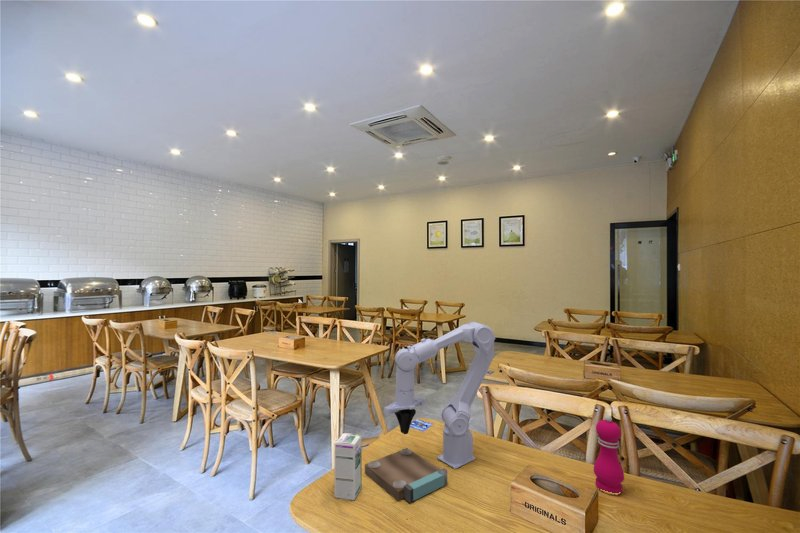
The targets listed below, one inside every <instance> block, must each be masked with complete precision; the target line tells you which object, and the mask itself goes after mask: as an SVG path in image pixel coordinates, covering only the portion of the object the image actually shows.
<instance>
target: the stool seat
mask: <svg viewBox="0 0 800 533" xmlns="http://www.w3.org/2000/svg"><path fill="white" fill-rule="evenodd" d="M439 469H440V468H439V467H438V466H436V465H435V464H433V463H431V462H430V461H428V460H427V459H425V458H423V457H422V456H421V455H418V454H417V453H415V452H414V451H413V450H412V449H409V448H408V447H406V448H402V449H401V450H398V451H396V452H393V453H390V454H389V455H385V456H383V457H381V458H378V459H375V460H372V461H369V462H368V463H365V464H364V474H365V475H366V476H368V478H370V479H371V480H372V481H373V482H374V483H376V484H377V485H378V486H379V487H380V488H381V489H383V490H384V491H385V492H386V493H388V495H390V496H391V497H392V498H394V499H395V500H396V501H397V502H400V501H402V500H405V499H404V485H406V484H410V483H412V482H414V481H417V480H419V479H421V478H423V477H425V476H428V475H430V474H432V473H434V472H436V471H438V470H439Z"/></svg>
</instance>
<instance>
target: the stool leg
mask: <svg viewBox="0 0 800 533" xmlns="http://www.w3.org/2000/svg"><path fill="white" fill-rule="evenodd" d="M446 485H448V470H447V469H445V468H439V470H438V471H436V472H434V473H432V474H430V475H428V476H425V477H423V478H421V479H419V480H417V481H414V482H412V483H410V484H406V485H404V499H403V500H406V501H407V502H408V503H409V504H410V503H413V502H414V501H416V500H419V499H420V498H423V497H424V496H426V495H429V494H430V493H432V492H435V491H436V490H438V489H440V488H442V487H444V486H446Z"/></svg>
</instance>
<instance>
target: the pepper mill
mask: <svg viewBox="0 0 800 533" xmlns="http://www.w3.org/2000/svg"><path fill="white" fill-rule="evenodd" d="M620 427H621V426H619V425H618V424H617V423H616V422H614V421H613V418H612V416H611V415H608V414H607V415H605V416H604V419H602V420H599V421H597V423H596V426H595V431H596V434H597V435H598V437H597V439H598V440H597V442H598V444H599V454H598V456H597V458H596V459H595V462H594V463H593V472H594V475H595V486H597V487H598V488H599V489H602V490H605V491H608V492H612V493H619V492H621V491H622V492H623V485H622V484H623V482H624V480H625V473H624V470H623V466H622V464H621V463H620V461H619V456H618V449H619V447H620V444H619V443H620V439H621V436H622V430H621V428H620ZM597 487H596V488H597ZM598 488H597V489H598ZM599 489H598V490H599Z"/></svg>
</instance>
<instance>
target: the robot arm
mask: <svg viewBox="0 0 800 533" xmlns="http://www.w3.org/2000/svg"><path fill="white" fill-rule="evenodd" d="M495 340H496V335H495V333H494V331H493V329H492V328H491V327H490V326H488V325H486V324H482V323H479V322H478V321H470V322H468V323H464V324H462V325H460V326H459V327H457V328H455V329H453V330H451V331H449V332H447V333H445V334H442V335H441V336H439V337H438V338H436V339H431V338H422V339H420V342H418V343H415V344H412V345H407V346H406V347H407V348H400V349H399V350H398V351H397V352H396V353H395V356H394V362H395V363H396V369H395V372H396V373H395V401H394V402H393V403H391V404H389V405H387V406H384V407H383V408H384V410H383V414H384V415H385V416H387V417H388V416H391V414H392V415H393V414H394V415H395V417H396V418H397V422H398V425H399V429H400V433H402V434H403V435H407V434H409V431H410V428H411V424H412V421H413V419H414V417H415V415H416V414H417V409H416V407H419V406H424V405H425V398H423V397H421V396H419V397H415V368H416V366H417V364H420V363H421V364H422V363H423V362H424V361H425V362H426V361H427V360H429V359H431V358H433V357H436V356H437V354H438V351H439V350H441V349H444V348H447V347H449V346H451V345H454V344H457V343H459V342H465V343H471V345H472V346H473V349H474V351H475V355H474V357H473V360H472V362H471V364H470V365H469V368H468V370H467V372H466V374H465V377H464V379H463V380H462V382H461V385H460V387H459V389H458V391H457V393H456V394H455V395H456V396H455V397H454V398H451V399H450V400H449V402H448V404H447V405H446V406H444V407H443V409H442V411H441V419H442V421H443V422H444V426H443V428H442V434H443V436H442V437H443V438H442V454H439V455H437V457H436V459H438V460H439V461H441V462H443V464H446V465H448V466H449V467H451V468H452V469H455V470H456V469H459V468H460V467H463V466H464V465H467V464H469V463H470V462H472V461H475V460H476V457H475V456H474V437H473V434H472V431H471V430H470V429H469V426H470V419H471V417H472V414H471V411H472V410H471V406H472V404H473V402H474V399H475V398H476V395H477V393H478V392H479V390H480V387H481V385H482V383H483V380H484V378H485V377H486V374H487V373H488V371H489V368H490V366H491V364H492V361H493V360H494V357H495Z"/></svg>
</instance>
